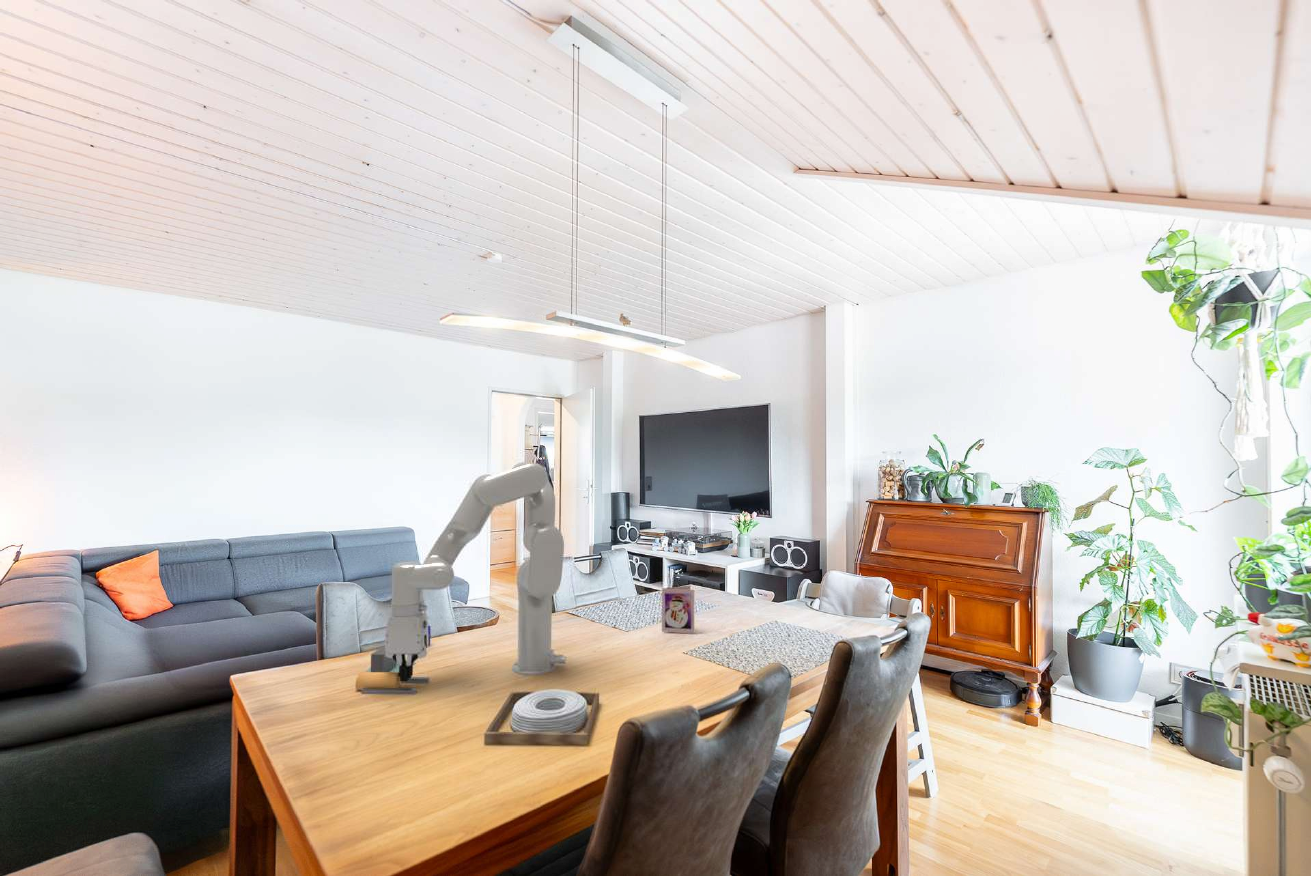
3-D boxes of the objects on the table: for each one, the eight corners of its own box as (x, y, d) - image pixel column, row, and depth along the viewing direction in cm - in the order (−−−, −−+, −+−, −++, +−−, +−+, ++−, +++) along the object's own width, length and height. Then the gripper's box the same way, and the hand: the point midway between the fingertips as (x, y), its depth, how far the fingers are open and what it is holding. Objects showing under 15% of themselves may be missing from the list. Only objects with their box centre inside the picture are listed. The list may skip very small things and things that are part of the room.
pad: (415, 663, 172) (415, 662, 172) (398, 678, 161) (398, 676, 161) (378, 663, 172) (378, 661, 172) (359, 677, 161) (359, 676, 161)
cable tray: (599, 706, 143) (599, 692, 143) (586, 751, 121) (586, 734, 121) (511, 705, 143) (512, 691, 143) (484, 750, 122) (484, 733, 122)
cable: (550, 754, 120) (550, 725, 121) (492, 732, 130) (493, 705, 130) (602, 722, 135) (602, 696, 135) (547, 704, 145) (547, 680, 145)
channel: (429, 682, 157) (429, 677, 157) (415, 696, 148) (415, 690, 148) (378, 682, 158) (378, 676, 158) (361, 695, 149) (361, 689, 149)
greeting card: (661, 632, 203) (661, 589, 203) (664, 626, 210) (664, 584, 210) (694, 634, 201) (694, 590, 201) (696, 627, 208) (696, 585, 208)
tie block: (396, 665, 169) (397, 645, 169) (383, 676, 161) (383, 654, 161) (384, 665, 169) (385, 644, 169) (370, 676, 161) (371, 654, 161)
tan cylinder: (402, 682, 155) (400, 668, 154) (395, 694, 151) (393, 680, 150) (365, 682, 155) (362, 668, 154) (356, 694, 151) (354, 680, 150)
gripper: (440, 606, 157) (439, 674, 157) (385, 605, 157) (384, 673, 157) (429, 613, 150) (428, 685, 149) (371, 613, 150) (370, 684, 149)
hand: (405, 679), depth 153 cm, fingers closed
